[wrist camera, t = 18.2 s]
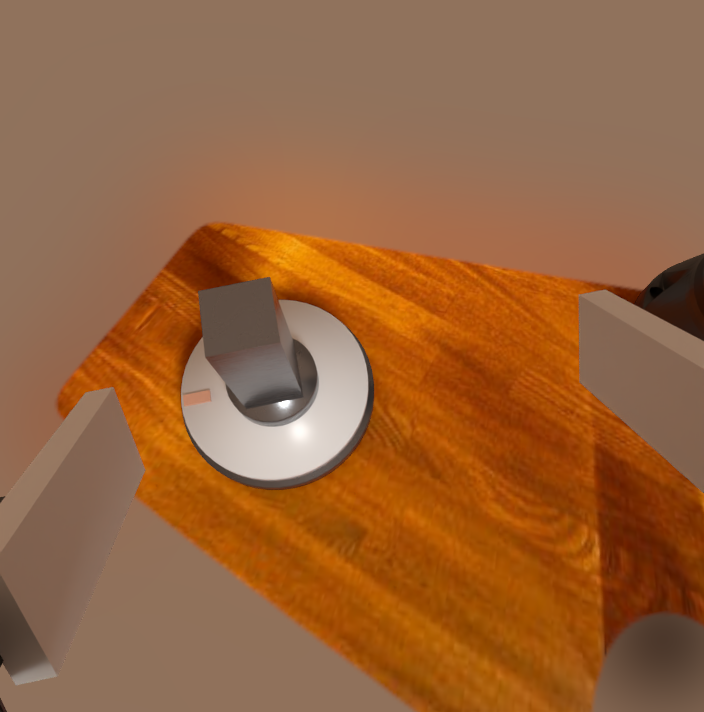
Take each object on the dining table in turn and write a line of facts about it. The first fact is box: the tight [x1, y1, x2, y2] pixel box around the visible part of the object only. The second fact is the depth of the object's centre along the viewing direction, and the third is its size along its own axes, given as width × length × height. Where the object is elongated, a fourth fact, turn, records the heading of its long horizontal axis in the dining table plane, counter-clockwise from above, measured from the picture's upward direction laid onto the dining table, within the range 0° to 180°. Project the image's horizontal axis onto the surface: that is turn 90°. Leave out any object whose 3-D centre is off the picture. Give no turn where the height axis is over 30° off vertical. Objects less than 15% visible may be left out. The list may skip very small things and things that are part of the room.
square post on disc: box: [198, 277, 319, 427], centre depth 44 cm, size 8×8×14 cm
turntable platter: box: [181, 300, 368, 481], centre depth 51 cm, size 17×17×2 cm
